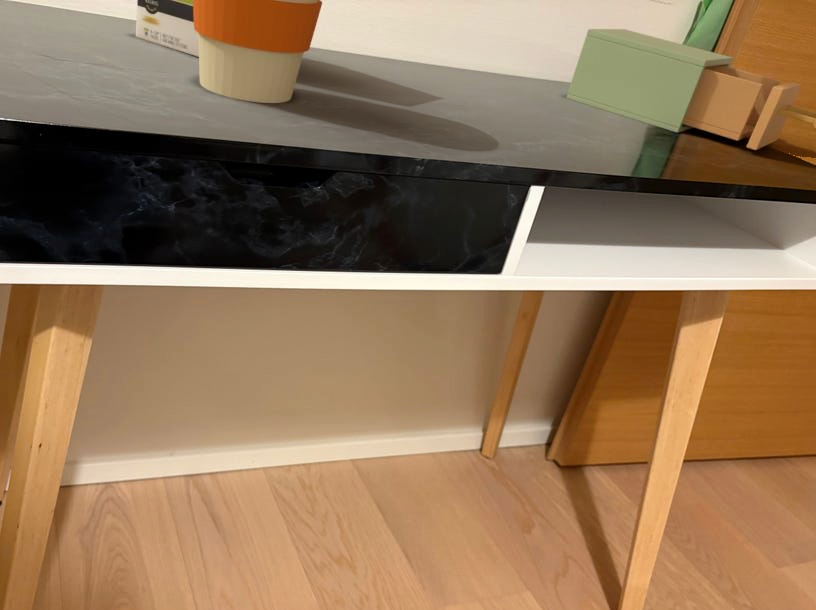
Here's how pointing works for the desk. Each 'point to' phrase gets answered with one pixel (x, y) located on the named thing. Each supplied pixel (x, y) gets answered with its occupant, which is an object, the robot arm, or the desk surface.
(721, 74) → the drawer
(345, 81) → the desk surface
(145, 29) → the tea box
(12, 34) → the desk surface
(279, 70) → the reusable coffee cup
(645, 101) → the cabinet
